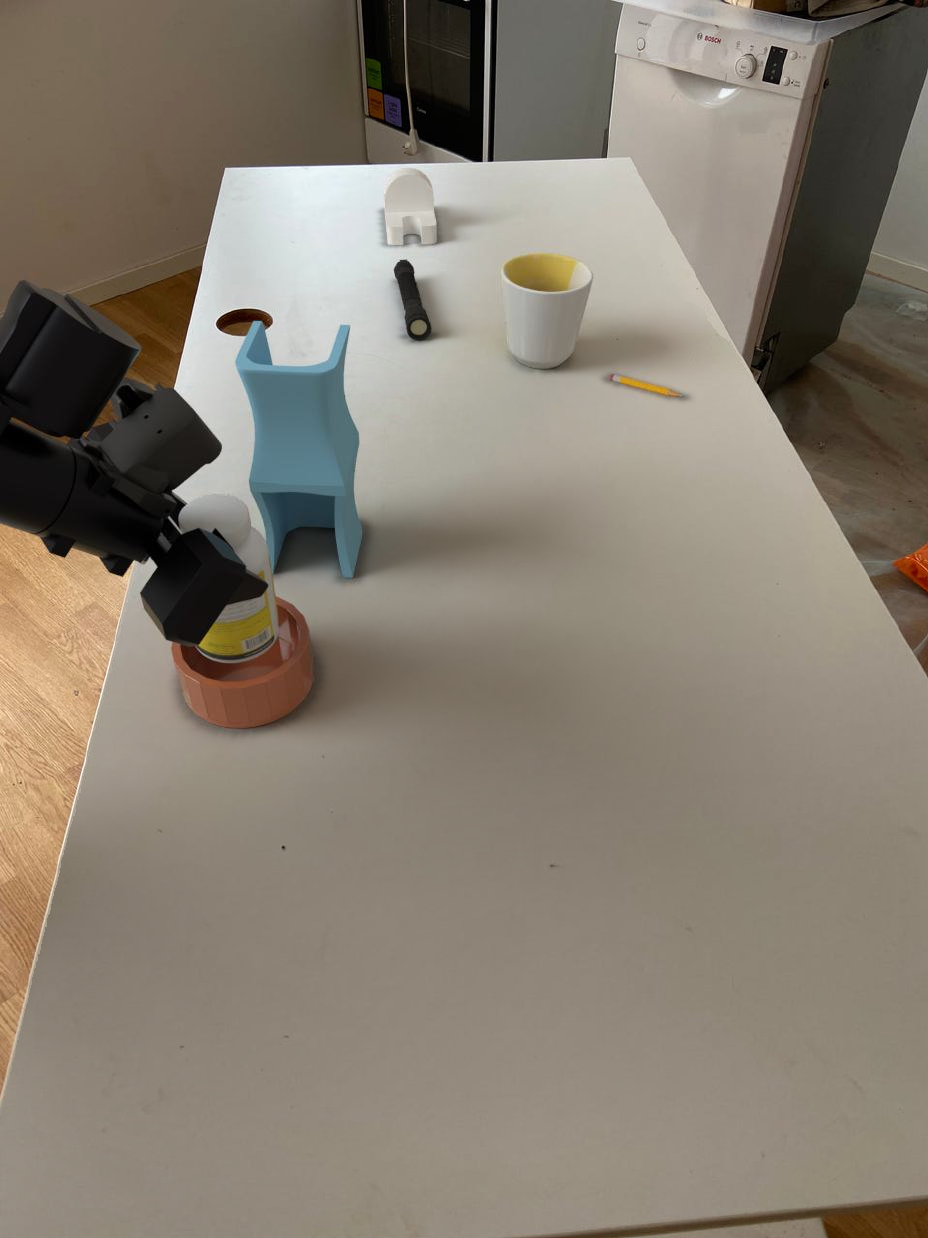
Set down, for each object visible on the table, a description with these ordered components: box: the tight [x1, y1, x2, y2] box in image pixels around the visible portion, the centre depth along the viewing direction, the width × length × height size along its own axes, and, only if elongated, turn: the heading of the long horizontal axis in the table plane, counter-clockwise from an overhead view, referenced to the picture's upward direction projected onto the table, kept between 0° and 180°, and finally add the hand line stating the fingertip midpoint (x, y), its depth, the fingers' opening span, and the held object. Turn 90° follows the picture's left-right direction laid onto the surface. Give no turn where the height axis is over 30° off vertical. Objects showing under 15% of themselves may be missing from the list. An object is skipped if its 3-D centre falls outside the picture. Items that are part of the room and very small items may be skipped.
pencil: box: [609, 373, 684, 398], centre depth 109 cm, size 1×9×1 cm, turn 63°
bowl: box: [170, 596, 315, 729], centre depth 75 cm, size 10×10×4 cm
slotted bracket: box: [383, 167, 438, 246], centre depth 139 cm, size 13×7×8 cm, turn 6°
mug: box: [500, 252, 594, 370], centre depth 112 cm, size 14×10×10 cm
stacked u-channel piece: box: [234, 320, 363, 579], centre depth 81 cm, size 8×8×20 cm
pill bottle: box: [179, 493, 279, 663], centre depth 69 cm, size 6×6×12 cm
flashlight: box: [393, 258, 433, 342], centre depth 122 cm, size 3×16×3 cm, turn 9°
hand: (242, 563), depth 69 cm, fingers closed on pill bottle, 6 cm apart
